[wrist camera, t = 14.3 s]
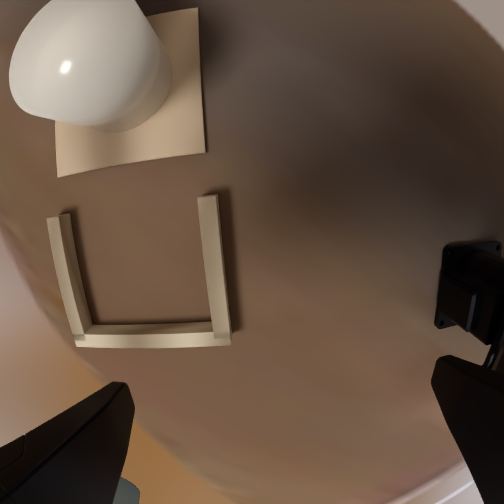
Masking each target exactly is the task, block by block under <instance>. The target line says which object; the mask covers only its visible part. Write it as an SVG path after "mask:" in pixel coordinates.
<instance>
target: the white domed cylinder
mask: <svg viewBox="0 0 504 504" xmlns="http://www.w3.org/2000/svg"><path fill="white" fill-rule="evenodd" d="M172 78H173V67H172V62H171V58H170V56H169V54H168V52H167V51H166V49H165V47H164V46H163V44H162V42H161V41H160V39H159V38H158V36H157V34H156V33H155V31H154V30H153V28H152V27H151V25H150V23H149V22H148V20H147V19H146V17H145V16H144V14H143V12H142V11H141V9H140V8H139V6H138V5H137V3H136V1H135V0H51V1H50V2H49V3H48V4H47V5H45V6H44V7H43V8H42V9H41V10H40V11H39V12H38V13H37V14H36V15H35V16H34V18H33V19H32V20H31V21H30V22H29V24H28V25H27V27H26V28H25V30H24V31H23V33H22V34H21V36H20V38H19V40H18V42H17V44H16V47H15V49H14V52H13V55H12V59H11V64H10V70H9V84H10V89H11V93H12V95H13V98H14V100H15V101H16V103H17V104H18V105H19V107H20V108H22V109H23V110H24V111H25V112H27V113H29V114H32V115H35V116H39V117H44V118H48V119H52V120H56V121H61V122H65V123H69V124H73V125H77V126H80V127H84V128H88V129H92V130H96V131H99V132H103V133H121V132H125V131H128V130H131V129H133V128H135V127H137V126H139V125H141V124H142V123H144V122H145V121H147V120H148V119H149V118H150V117H152V116H153V115H154V114H155V112H156V111H157V110H158V109H159V108H160V107H161V105H162V104H163V102H164V101H165V99H166V97H167V95H168V93H169V90H170V87H171V84H172Z"/></svg>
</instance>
